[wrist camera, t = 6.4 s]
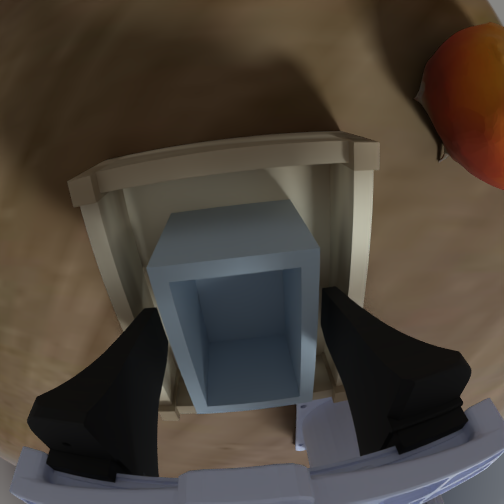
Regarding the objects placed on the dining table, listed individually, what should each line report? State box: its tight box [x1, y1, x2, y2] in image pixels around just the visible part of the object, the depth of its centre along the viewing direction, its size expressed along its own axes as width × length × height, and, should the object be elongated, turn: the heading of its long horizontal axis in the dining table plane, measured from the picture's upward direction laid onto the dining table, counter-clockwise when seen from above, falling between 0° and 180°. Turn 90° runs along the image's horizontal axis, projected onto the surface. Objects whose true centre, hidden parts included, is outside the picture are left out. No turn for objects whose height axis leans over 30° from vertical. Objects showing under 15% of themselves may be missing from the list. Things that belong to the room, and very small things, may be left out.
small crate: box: [146, 199, 320, 414], centre depth 13 cm, size 8×5×5 cm
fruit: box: [413, 22, 504, 190], centre depth 10 cm, size 8×8×8 cm
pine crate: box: [67, 131, 380, 421], centre depth 14 cm, size 14×11×4 cm
